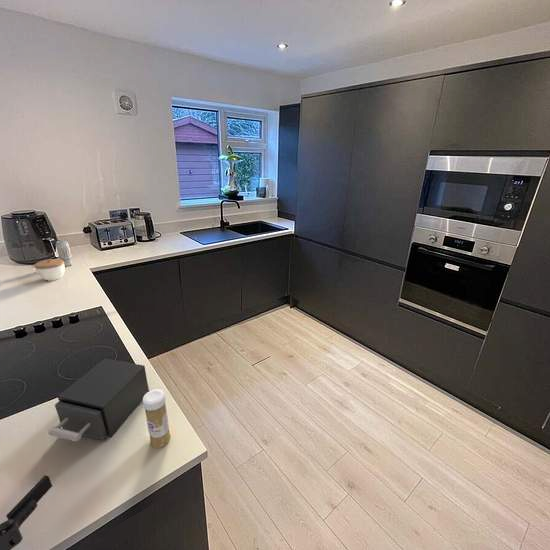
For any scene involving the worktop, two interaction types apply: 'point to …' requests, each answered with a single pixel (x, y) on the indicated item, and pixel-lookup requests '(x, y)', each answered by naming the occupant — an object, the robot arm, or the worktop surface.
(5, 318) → the worktop surface
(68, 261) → the clear ribbed bottle
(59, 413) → the drawer
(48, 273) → the lidded bowl
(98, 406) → the cabinet
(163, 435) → the sprinkles bottle
